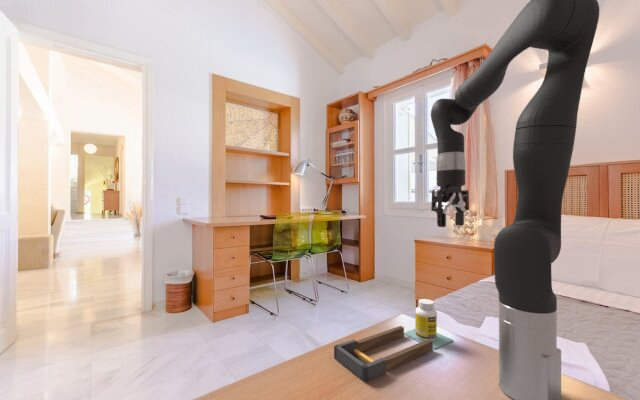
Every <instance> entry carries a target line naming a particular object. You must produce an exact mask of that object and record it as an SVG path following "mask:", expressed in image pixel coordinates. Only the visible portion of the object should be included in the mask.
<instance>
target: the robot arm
mask: <svg viewBox="0 0 640 400" xmlns="http://www.w3.org/2000/svg"><path fill="white" fill-rule="evenodd" d="M599 20H600V4H599V2H598V0H530V1H528V3H527V4H526V5H525V6H524V7H523V8H522V10H521V11H520V12H519V13H518V14H517V16H516V17H515V18H514V20H513V21H512V22H511V24H510V25H509V26H508V28H507V29H506V30H505V32H503V35H502V36H501V37H500V38H499V40H498V41H497V43H496V44H495V45H494V47H493V48H492V49H491V51H490V52H489V53H488V55H487V56H486V57H485V59H484V60H483V61H482V62H481V63H480V65H479V66H478V67H477V68H476V69H475V70H474V71H473V72H472V73H471V74H470V75H469V77H467V78H466V79H465V80H464V81H463V82H462V83H461V84H460V85H459V86H458V88H456V91H455V92H454V98H440V99H437V100H436V101H435V102H434V103H433V104H432V106H431V111H430V119H431V123H432V126H433V129H434V133H435V136H436V141H437V156H436V186H437V187H439V189H432V190H431V211H432V212H435V213H436V224H437V227H439V228H445V227H446V226H447V214H446V212H447V210H448V208H450V207H453V208H454V210H455V225H456V226H464V225H465V213H466V211H469V210H470V199H469V198H470V197H469V196H470V195H469V190H468V189H462V187H464V186H466V156H465V136H464V134H463V132H460V131H457V130H454V129H453V128H452V126H461V125H463V124H465V123H466V122H467V121H469V120H470V119H471V117H472V116H473V114H474V113H475V111H476V110H477V109H478V107H479V105H481V104H483V103H484V101H486V100H488V99H489V98H490V97H492V95H493V94H495V92H497V90H499V88H500V86H501V85H502V83H503V81H504V79H505V76H506V73H507V69H508V66H509V65H510V63H511V62H512V61H513V60H514V59H515V58H516V57H518V56H519V55H520V54H521V53H523V52H524V51H526V50H527V49H529V48H532V49H533V48H534V49H538V50H544V51H547V54H548V55H547V65H546V70H545V74H544V75H545V76H544V78H543V80H542V83H541V85H540V86H539V88H538V90H537V91H536V92H535V94H534V95H533V96H532V97H531V99H530V100H529V101H528V103H526V104H527V105H526V106H525V107H524V108H523V109H522V112H521V113H520V115H519V116H518V118H517V121H516V126H515V131H514V136H513V137H514V139H513V146H512V160H513V161H512V163H513V169H514V175H515V182H516V187H517V203H516V204H517V205H516V209H515V214H514V219H513V223H512V224H508V225H506V226H505V227H503V228H502V229H501V230H500V231H499V232H498V233H497V235H496V237H495V239H494V244H493V262H494V263H493V268H494V269H493V270H494V283H495V288H496V290H497V293H498V385H499V388H500V390H501V391H502V392H503V393H504V394H505V395H506V396H508V397H510V398H511V399H512V400H562V350H561V348H558V346H557V345H558V344H557V343H558V341H557V339H558V337H557V336H558V335H557V331H558V329H557V326H558V325H557V322H558V321H557V320H558V319H557V314H558V311H557V309H558V304H557V303H558V300H557V299H558V298H557V295H556V294H555V292H554V290H553V287H552V286H553V283H552V263H554V262H555V261H556V260H557V259H558V258H559V255H560V253H561V249H562V207H563V205H562V204H563V198H564V192H565V188H566V185H567V181H568V177H569V171H570V167H571V161H572V158H573V157H572V156H573V152H574V147H575V139H576V131H577V125H578V123H577V122H578V114H579V113H578V112H579V107H580V100H581V95H582V90H583V85H584V79H585V74H586V69H587V66H588V62H589V58H590V55H591V50H592V47H593V43H594V39H595V36H596V33H597V32H596V31H597V29H598V24H599ZM436 204H437V205H436Z"/></svg>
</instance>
